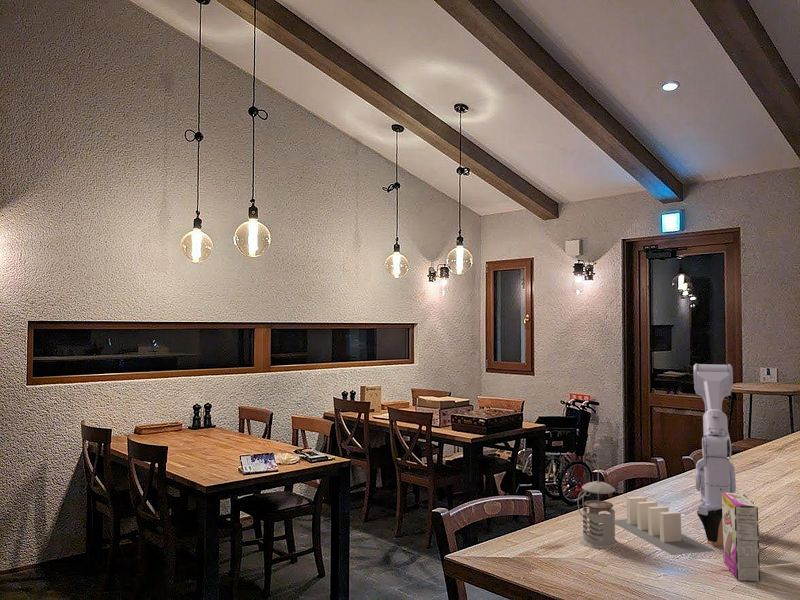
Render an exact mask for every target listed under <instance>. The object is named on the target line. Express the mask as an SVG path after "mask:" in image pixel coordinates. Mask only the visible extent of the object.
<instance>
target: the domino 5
mask: <svg viewBox="0 0 800 600" xmlns="http://www.w3.org/2000/svg"><path fill="white" fill-rule="evenodd" d="M707 544H708V545H709V546H723V520H722V519H721V521H720V524H719V529H718V539H717V542H712V541H708V540H707Z"/></svg>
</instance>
